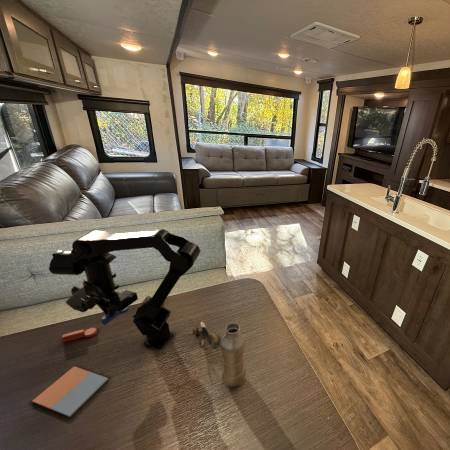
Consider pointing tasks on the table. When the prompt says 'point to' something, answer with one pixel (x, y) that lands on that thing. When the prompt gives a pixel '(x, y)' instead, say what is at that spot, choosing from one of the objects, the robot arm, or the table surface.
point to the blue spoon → (107, 317)
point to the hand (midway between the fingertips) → (110, 315)
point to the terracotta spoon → (79, 334)
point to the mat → (70, 391)
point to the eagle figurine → (206, 335)
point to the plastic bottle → (233, 355)
